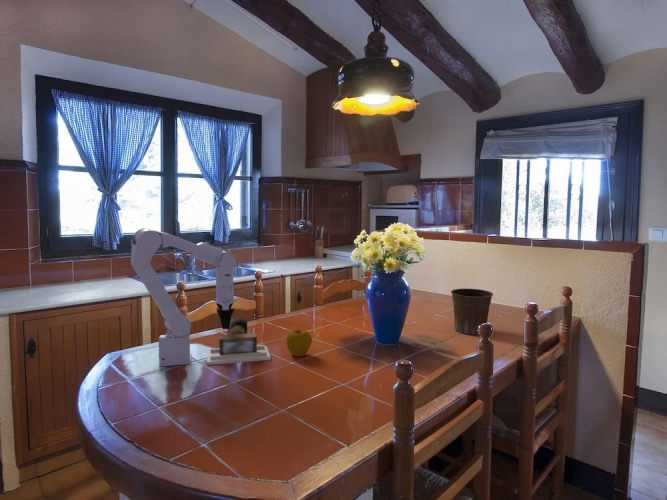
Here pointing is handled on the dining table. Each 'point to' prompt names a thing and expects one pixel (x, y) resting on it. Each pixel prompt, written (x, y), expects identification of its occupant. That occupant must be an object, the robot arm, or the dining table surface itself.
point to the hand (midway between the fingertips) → (225, 325)
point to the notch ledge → (237, 356)
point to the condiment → (237, 326)
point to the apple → (298, 342)
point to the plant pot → (470, 309)
